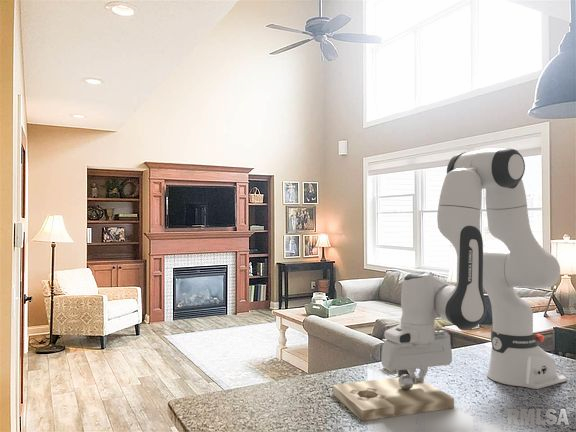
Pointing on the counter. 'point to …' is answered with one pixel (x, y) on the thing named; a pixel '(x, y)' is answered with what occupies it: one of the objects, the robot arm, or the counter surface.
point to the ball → (405, 381)
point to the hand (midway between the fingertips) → (417, 383)
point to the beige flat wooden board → (390, 398)
